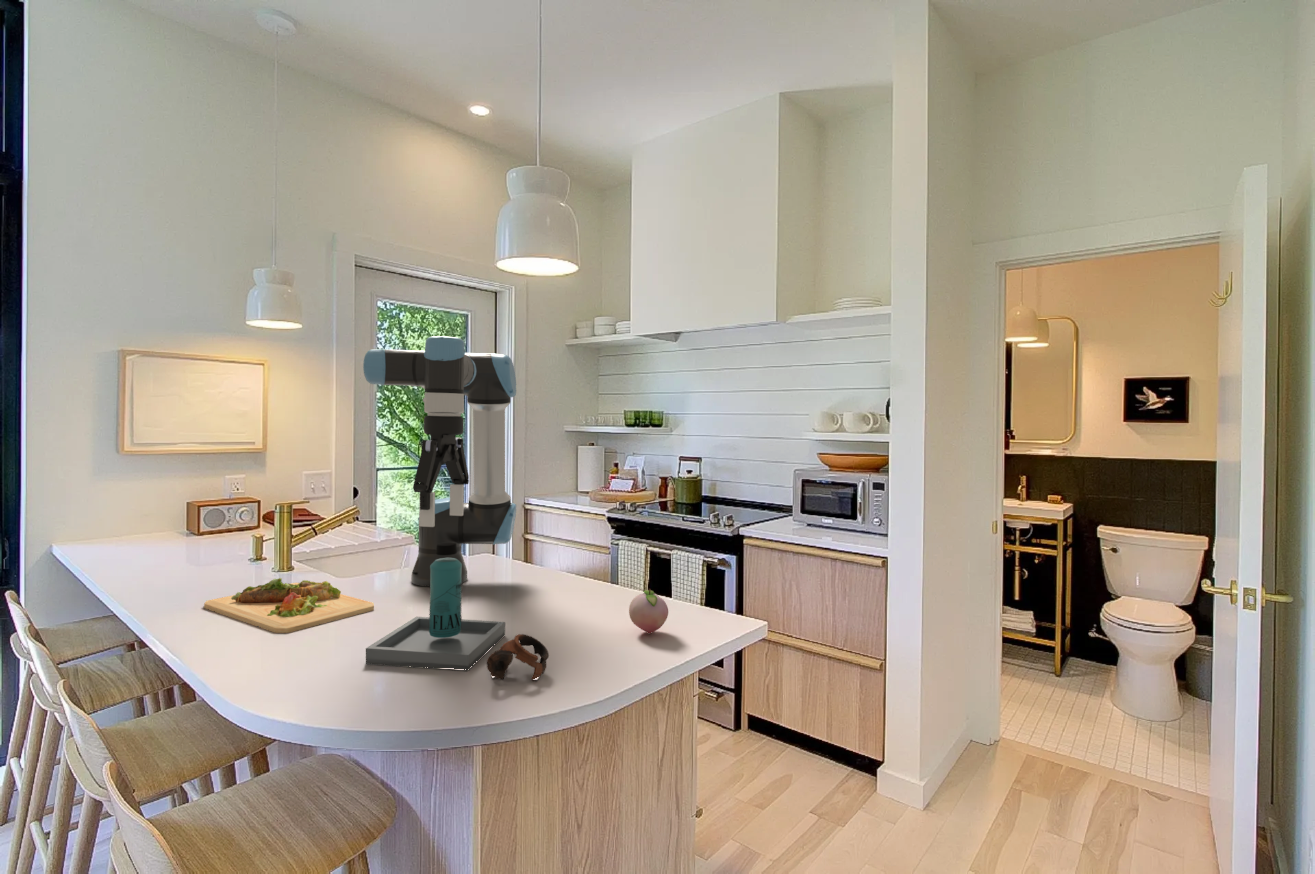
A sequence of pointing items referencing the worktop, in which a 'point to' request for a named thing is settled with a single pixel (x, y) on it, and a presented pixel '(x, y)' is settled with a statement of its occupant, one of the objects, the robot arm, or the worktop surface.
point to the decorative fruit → (648, 611)
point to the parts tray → (435, 645)
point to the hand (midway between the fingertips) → (442, 520)
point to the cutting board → (289, 605)
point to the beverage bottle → (445, 593)
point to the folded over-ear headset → (518, 656)
